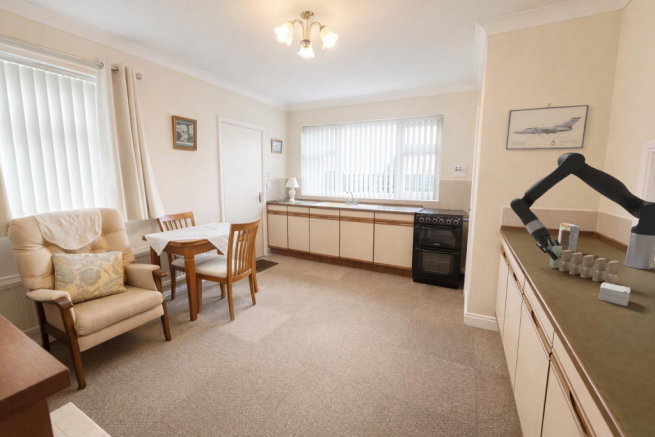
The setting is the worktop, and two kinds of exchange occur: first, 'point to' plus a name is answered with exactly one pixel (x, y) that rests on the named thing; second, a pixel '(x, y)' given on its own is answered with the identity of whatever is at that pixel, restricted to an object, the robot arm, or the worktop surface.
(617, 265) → the domino
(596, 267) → the domino
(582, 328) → the worktop surface
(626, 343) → the worktop surface
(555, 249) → the domino
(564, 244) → the wooden block
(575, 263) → the domino
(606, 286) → the small box
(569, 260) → the domino
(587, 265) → the domino
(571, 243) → the candy bar box
